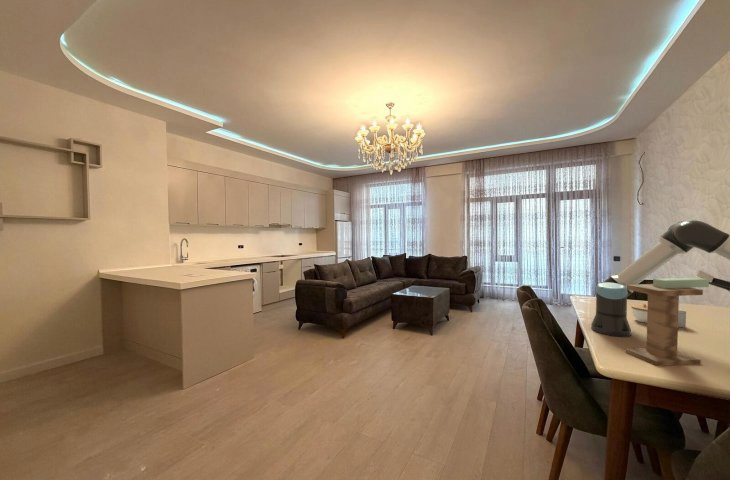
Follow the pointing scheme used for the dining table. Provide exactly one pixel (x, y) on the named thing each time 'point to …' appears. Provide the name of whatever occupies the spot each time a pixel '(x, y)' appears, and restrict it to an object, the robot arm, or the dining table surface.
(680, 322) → the medicine box
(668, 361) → the walnut stand
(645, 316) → the lidded jar
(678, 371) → the dining table surface
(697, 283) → the sage bar
